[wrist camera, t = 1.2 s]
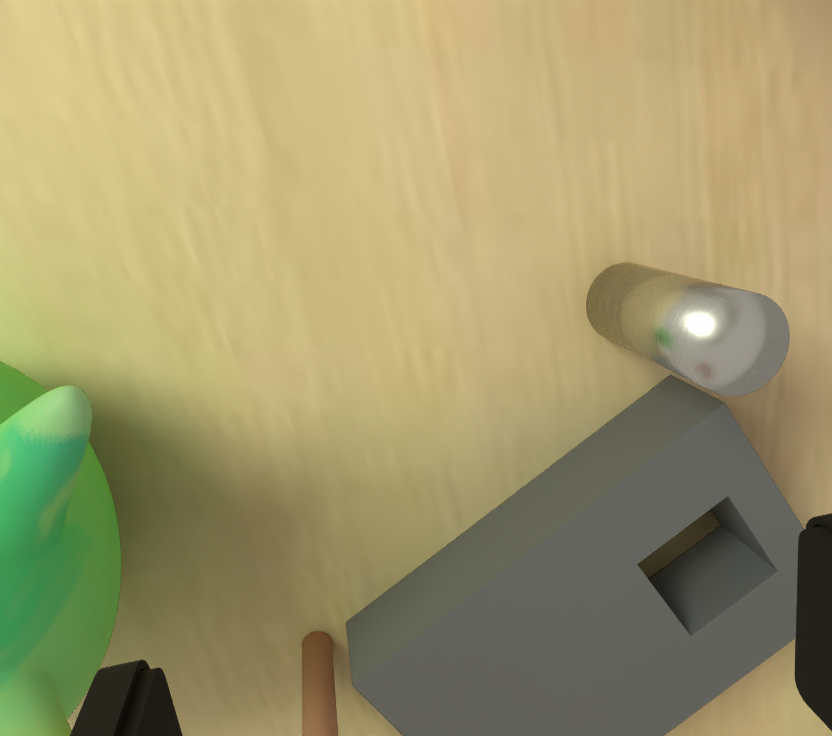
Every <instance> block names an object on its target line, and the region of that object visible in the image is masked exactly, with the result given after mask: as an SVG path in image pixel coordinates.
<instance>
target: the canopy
mask: <svg viewBox="0 0 832 736" xmlns="http://www.w3.org/2000/svg"><path fill="white" fill-rule="evenodd" d="M302 731H303V736H338V726H337V711H336V697H335V683H334V668H333V654H332V641H331V638H330V637H329V636H328V635H327V634H326V633H323V632H313V633H310V634H309V635H307V636H306V637H305V638H304V640H303V642H302Z"/></svg>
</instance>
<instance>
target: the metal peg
mask: <svg viewBox="0 0 832 736" xmlns="http://www.w3.org/2000/svg"><path fill="white" fill-rule="evenodd" d="M586 310H587V316H588V319H589V321H590V323H591V325H592V326H593V328H594V329H595V330H596V331H597V332H598V333H599V334H601V335H602V336H604V337H606V338H608V339H610V340H612V341H614V342H616V343H618V344H620V345H622V346H624V347H626V348H628V349H630V350H632V351H634V352H636V353H638V354H640V355H642V356H644V357H646V358H648V359H650V360H652V361H654V362H656V363H658V364H660V365H662V366H663V367H665V368H667V369H669V370H671V371H673V372H675V373H677V374H679V375H681V376H683V377H685V378H687V379H689V380H691V381H693V382H695V383H697V384H699V385H701V386H703V387H705V388H707V389H709V390H711V391H713V392H715V393H717V394H720V395H725V396H741V395H745V394H748V393H751V392H753V391H755V390H757V389H759V388H760V387H762V386H763V385H765V384H766V383H767V382H768V381H770V380H771V378H772V377H773V376H774V375H775V374H776V373H777V371H778V370H779V368H780V367H781V365H782V363H783V361H784V359H785V357H786V354H787V351H788V346H789V338H790V336H789V326H788V322H787V319H786V316H785V314H784V312H783V311H782V309H781V308H780V307H779V306H778V304H777V303H776V302H774V301H773V300H772V299H770V298H768V297H767V296H764V295H762V294H758V293H754V292H750V291H746V290H741V289H737V288H733V287H729V286H725V285H721V284H717V283H712V282H708V281H704V280H700V279H696V278H692V277H688V276H683V275H679V274H675V273H671V272H667V271H663V270H659V269H655V268H650V267H646V266H642V265H638V264H633V263H620V264H616V265H613V266H611V267H609V268H607V269H606V270H604V271H603V272H602V273H601V274H599V276H598V277H597V278H596V279H595V280H594V282H593V283H592V285H591V287H590V289H589V292H588V295H587V301H586Z"/></svg>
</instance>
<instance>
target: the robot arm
mask: <svg viewBox="0 0 832 736" xmlns="http://www.w3.org/2000/svg"><path fill="white" fill-rule="evenodd" d="M795 682H796V686H797V689H798V691H799V693H800V695H801V697H802V699H803V700H804V701H805V703H806V704H807V705H808V706H809V707H810V708H811V709H812V711H813V712H814V713H815V714H816V715H817V716H818V717H819V718H820V719H821V720H822V721H823V722H824V723H825V724H826V725H827V727H828V728H829V729H830V730H831V731H832V513H831V514H827V515H822V516H817V517H813V518H812V519H810V520H809V521H808V523H807V525H806V529H805V530H803V531H801V533H800V534H799V539H798V569H797V607H796V644H795ZM70 736H182V732H181V729H180V725H179V722H178V719H177V715H176V712H175V708H174V705H173V701H172V698H171V695H170V691H169V688H168V684H167V681H166V677H165V675H164V672H163V670H162V669H161V668H155V669H150V668H149V665H148V664H147V662H146V661H144V660H139V661H134V662H129V663H124V664H120V665H115V666H110V667H106V668H101V669H100V670H98V671H97V673H96V675H95V677H94V679H93V682H92V684H91V686H90V689H89V691H88V694H87V696H86V698H85V701H84V703H83V706H82V708H81V710H80V713H79V715H78V718H77V720H76V722H75V725H74V727H73V730H72V732H71V734H70Z"/></svg>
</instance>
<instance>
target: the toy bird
mask: <svg viewBox="0 0 832 736" xmlns="http://www.w3.org/2000/svg"><path fill="white" fill-rule="evenodd" d="M91 425H92V407H91V402H90V399H89V397H88V396H87V394H86V393H85V392H84V391H83V390H82V389H81V388H79V387H77V386H73V385H66V386H61V387H58V388H55V389H53V390H51V391H49V392H47V391H46V390H45V389H44V388H43V387H41V386H40V385H39V384H38V383H36V382H35V381H33V380H32V379H31V378H29V377H28V376H26V375H25V374H23V373H21V372H20V371H18V370H16V369H15V368H13V367H11V366H9V365H7V364H5V363H3V362H1V361H0V736H70V734H71V732H72V730H71V728H70V725H69V723H68V721H67V719H68V718H69V717H70V715H71V714H72V713H73V711H74V710H75V709H76V707H77V706H78V704H79V703H80V702H81V700H82V699H83V697H84V695H85V694H86V692H87V691H88V689H89V687H90V685H91V684H92V682H93V679H94V677H95V675H96V673H97V671H98V670H99V668H100V665H101V663H102V661H103V658H104V656H105V653H106V650H107V648H108V645H109V642H110V638H111V635H112V631H113V628H114V624H115V619H116V614H117V609H118V603H119V595H120V585H121V545H120V535H119V527H118V521H117V515H116V510H115V506H114V502H113V498H112V495H111V491H110V488H109V485H108V482H107V479H106V476H105V474H104V471H103V469H102V467H101V464H100V462H99V460H98V458H97V456H96V454H95V452H94V450H93V448H92V446H91V444H90V443H89V436H90V431H91Z"/></svg>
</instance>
